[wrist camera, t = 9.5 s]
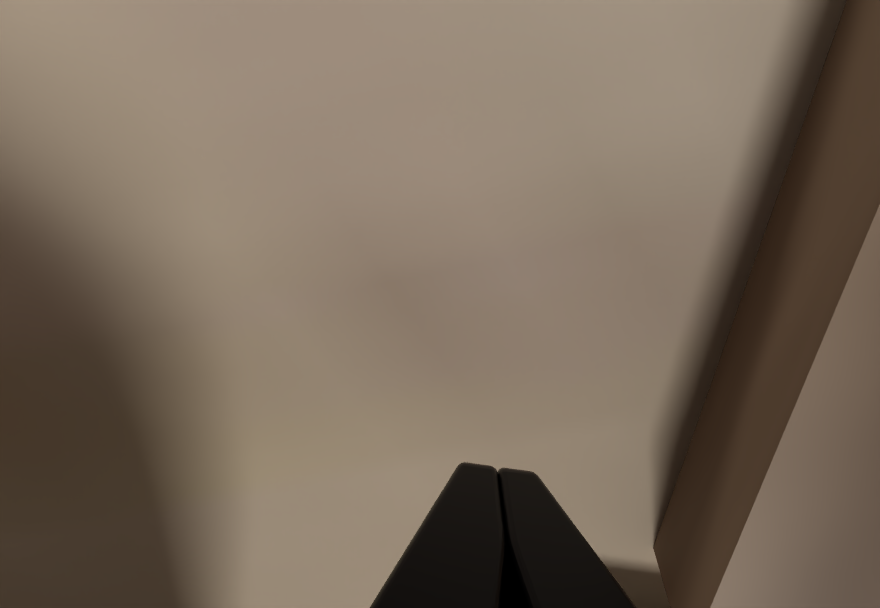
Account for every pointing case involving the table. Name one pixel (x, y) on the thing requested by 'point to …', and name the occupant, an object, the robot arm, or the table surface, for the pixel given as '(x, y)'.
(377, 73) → the table surface
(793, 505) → the t block
